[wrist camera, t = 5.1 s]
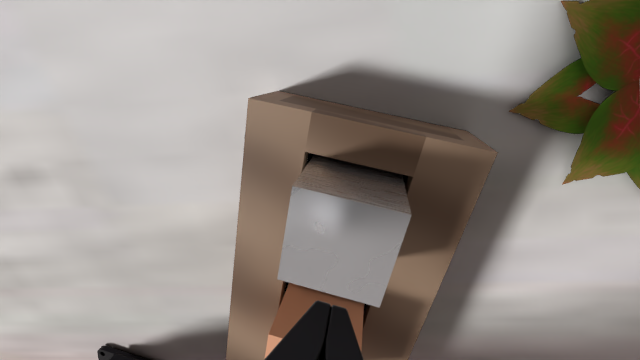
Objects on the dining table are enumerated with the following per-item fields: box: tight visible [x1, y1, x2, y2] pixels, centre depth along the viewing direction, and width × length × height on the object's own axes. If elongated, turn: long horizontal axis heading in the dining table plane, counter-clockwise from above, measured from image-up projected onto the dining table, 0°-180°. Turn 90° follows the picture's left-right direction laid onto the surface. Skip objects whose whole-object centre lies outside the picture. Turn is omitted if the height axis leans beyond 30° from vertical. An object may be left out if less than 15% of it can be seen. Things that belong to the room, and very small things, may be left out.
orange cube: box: [265, 283, 364, 358], centre depth 15 cm, size 4×4×4 cm
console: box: [226, 91, 498, 360], centre depth 18 cm, size 22×10×4 cm, turn 170°
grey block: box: [277, 155, 412, 308], centre depth 12 cm, size 4×4×4 cm
